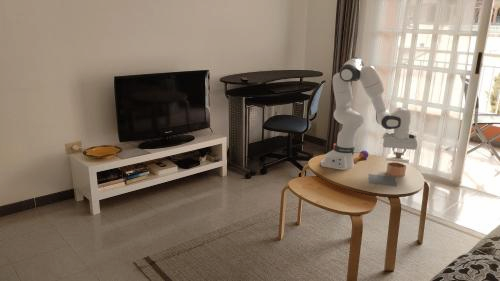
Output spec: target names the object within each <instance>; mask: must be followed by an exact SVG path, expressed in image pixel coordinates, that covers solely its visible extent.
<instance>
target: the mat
mask: <svg viewBox="0 0 500 281" xmlns="http://www.w3.org/2000/svg"><path fill="white" fill-rule="evenodd" d="M368 184H372V185H379V186H388V187H389V186H390V187H398V185H397V180H396V176H392V175H381V174H374V173H373V174H372V173H368Z"/></svg>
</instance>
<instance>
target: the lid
mask: <svg viewBox="0 0 500 281" xmlns="http://www.w3.org/2000/svg"><path fill="white" fill-rule="evenodd" d="M401 152H402V151H396V155H394V154H393V153H388V154H387V156H386V160H385V161H389V162H399V163H402V164H409V163H410V156H409V155H401Z"/></svg>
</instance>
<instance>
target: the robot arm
mask: <svg viewBox="0 0 500 281" xmlns="http://www.w3.org/2000/svg"><path fill="white" fill-rule="evenodd" d="M357 81H360V82H361V85H362V87H363V89H364V92H365V94H366V95H367V97H368V98H370V100H371V102H372V105H373V107H374V109H375V120H376V123H377V124H379V125H380V126H381V127H382V128H383V129H385V130H393V132H385V133H383V135H382V139H383V142H382V146H383V148H388V149H389V148H391V149H392V151H393V153H392V154H394V155H396V152H397V151H395V149H399V150H400V149H401V150H403V151H400V152H401V155H402V156H405V153H406V151H407V150H413V151H414V150H415V151H416V150H417V149H418V140H417V135H416V133H415V132H414V131H413V132H412V131H410V124H411V118H412V117H411V114H412V113H411V111H410V110H409V109H407V108H404V107H398V108H397V109H394V110H393V111H389V110H388V108H387V107H386V105H385V102H384V100H383V97H382V96H383V93H384V90H385V89H384V84H383V81H382V79H381V76H380V75H379V73H378V71H377V69H376V68H375V67H374V66H373V65H365V66H364V62H363V60H362V59H361V58H359V57H355V56H354V57H351V58H349V59H348V60H346V61H345V63H344V64H343V65H342V66H341V67H340V69H339V71H338V72H337V73H335V74H333V76H332V87H333V88H332V89H333V95H334V98H335V110H334V112H333V118H334V120H336V121H337V122H338V123H339V124H342V127H341V130H340V131H339V132H338V133H337V141H336V143H333V149H332V150H331V151H328V152H327V153H326V154H325V156H324V158H323V159H321V160H320V166H321V167H324V168H329V169H334V170H341V171H346V170H349V169H353V168H355V164H354V161H353V159H354V155H355V140H356V139H355V138H356V134H357V133H358V132H357V131H358V129H359V128H361V127H362V125H363V124H364V117H363V115H362V114H360V113H359V112H358V111H356V110H354V109H353V108H352V102H353V101H354V95H353V91H352V90H353V89H352V85H351V83H352V82H357Z"/></svg>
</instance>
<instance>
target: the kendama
mask: <svg viewBox="0 0 500 281" xmlns="http://www.w3.org/2000/svg"><path fill="white" fill-rule="evenodd" d="M368 157H369V152H368V151H367V150H361V151H360V153H359V155H358V157H355V158H353V161H354V165H355V164H356V163H357V162H358V161H359V160H360V159H363V160H365V159H368Z"/></svg>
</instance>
